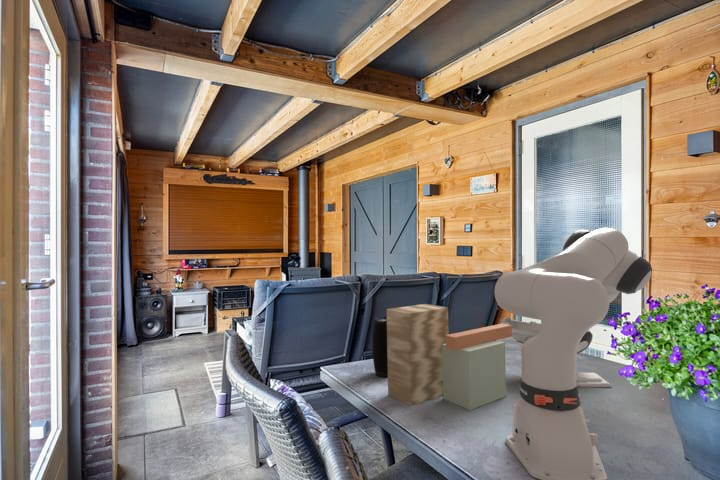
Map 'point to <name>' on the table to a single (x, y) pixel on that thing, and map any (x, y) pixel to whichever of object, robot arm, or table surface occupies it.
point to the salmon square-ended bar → (478, 336)
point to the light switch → (590, 380)
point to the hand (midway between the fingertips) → (518, 321)
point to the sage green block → (474, 374)
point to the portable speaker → (380, 346)
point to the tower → (416, 352)
